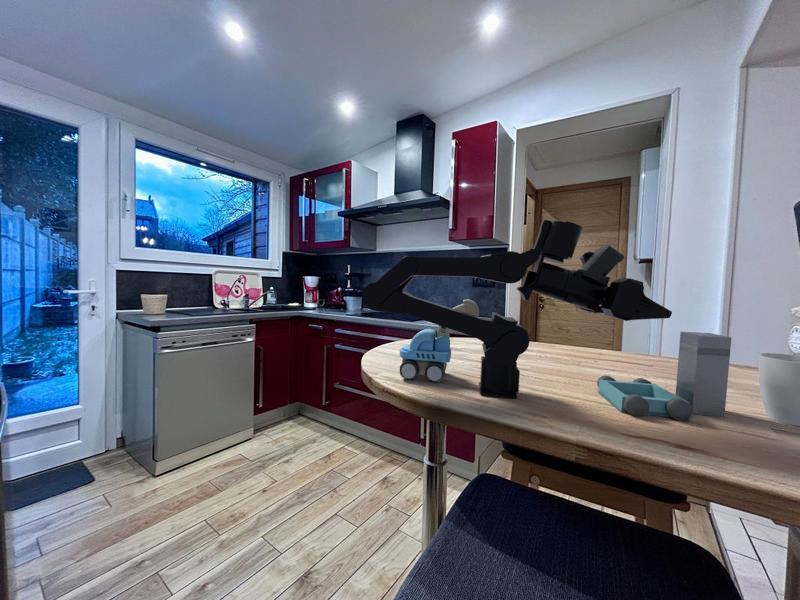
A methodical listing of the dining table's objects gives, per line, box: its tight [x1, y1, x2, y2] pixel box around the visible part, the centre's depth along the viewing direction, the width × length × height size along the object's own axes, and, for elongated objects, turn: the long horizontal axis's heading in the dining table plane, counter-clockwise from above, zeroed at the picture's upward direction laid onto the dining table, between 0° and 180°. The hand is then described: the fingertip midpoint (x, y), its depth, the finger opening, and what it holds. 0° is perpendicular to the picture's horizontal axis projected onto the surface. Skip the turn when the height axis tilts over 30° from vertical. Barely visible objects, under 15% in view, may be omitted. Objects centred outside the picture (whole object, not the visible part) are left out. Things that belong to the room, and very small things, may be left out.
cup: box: [757, 352, 800, 427], centre depth 51 cm, size 8×8×10 cm
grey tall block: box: [675, 331, 732, 418], centre depth 54 cm, size 4×4×13 cm
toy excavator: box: [399, 299, 480, 384], centre depth 69 cm, size 9×17×17 cm, turn 78°
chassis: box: [596, 374, 694, 422], centre depth 56 cm, size 10×12×3 cm
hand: (653, 312), depth 55 cm, fingers open, 9 cm apart
